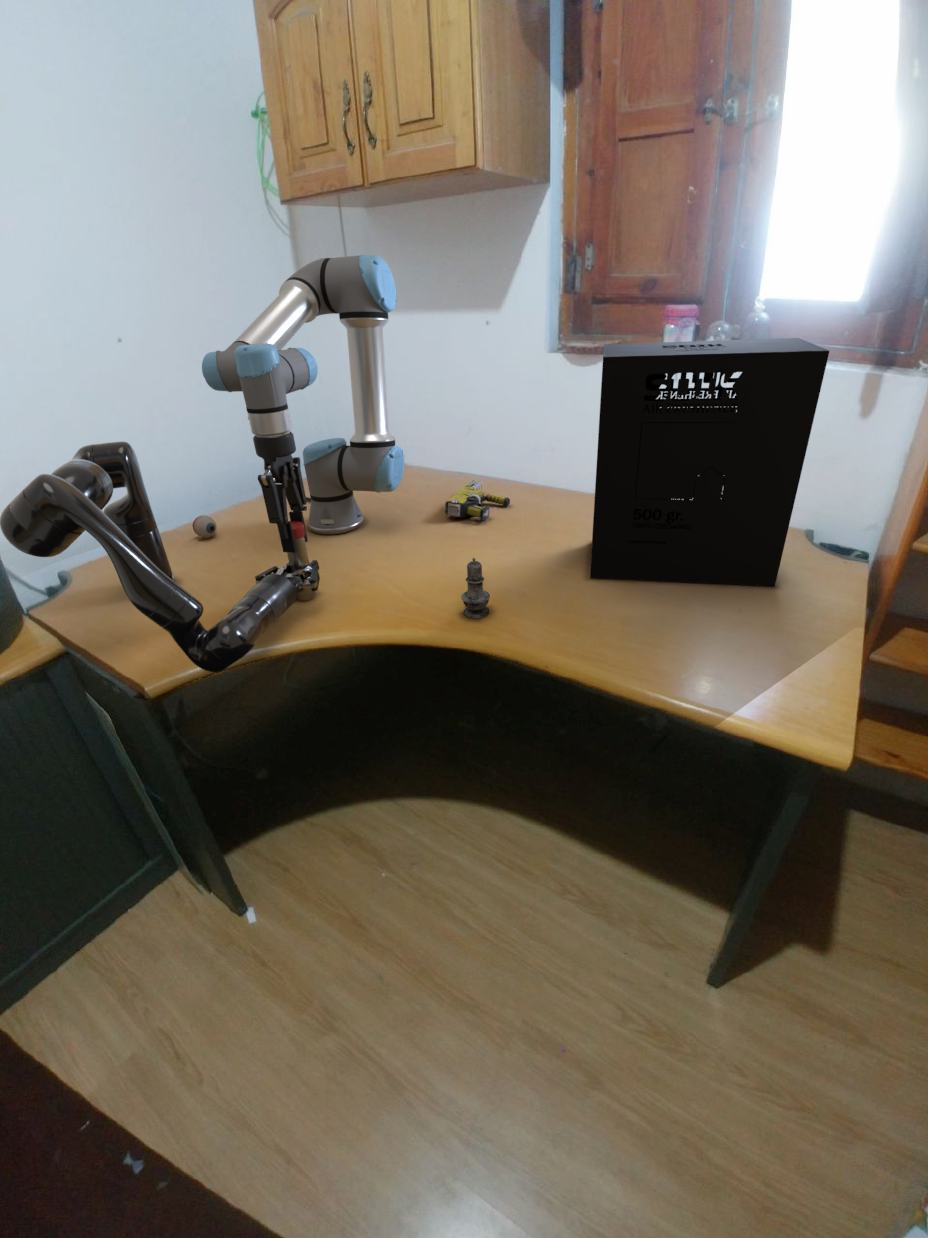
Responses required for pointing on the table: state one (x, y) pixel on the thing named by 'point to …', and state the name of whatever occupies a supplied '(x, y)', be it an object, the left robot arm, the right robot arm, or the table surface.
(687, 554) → the cardboard box
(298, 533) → the lid
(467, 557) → the table surface
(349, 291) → the right robot arm
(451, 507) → the toy gun
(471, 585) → the dark grey chess piece
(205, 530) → the eyeball
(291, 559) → the bottle
